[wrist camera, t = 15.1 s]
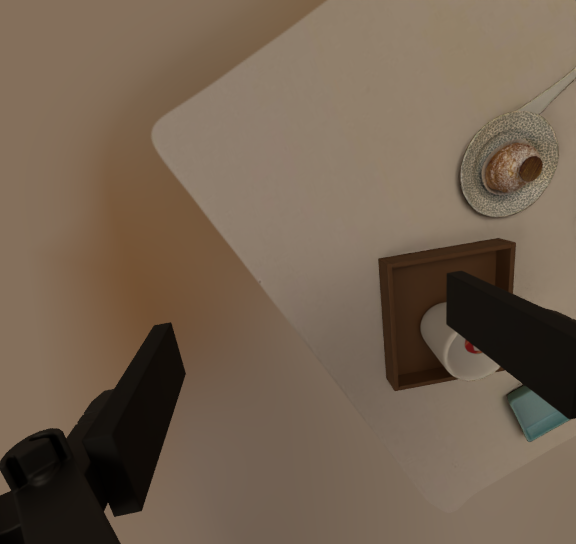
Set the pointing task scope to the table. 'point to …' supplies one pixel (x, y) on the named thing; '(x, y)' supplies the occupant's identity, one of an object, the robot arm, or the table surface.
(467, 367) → the cup
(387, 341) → the tray
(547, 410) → the shallow long dish
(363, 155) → the table surface
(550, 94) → the fork
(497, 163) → the pastry
